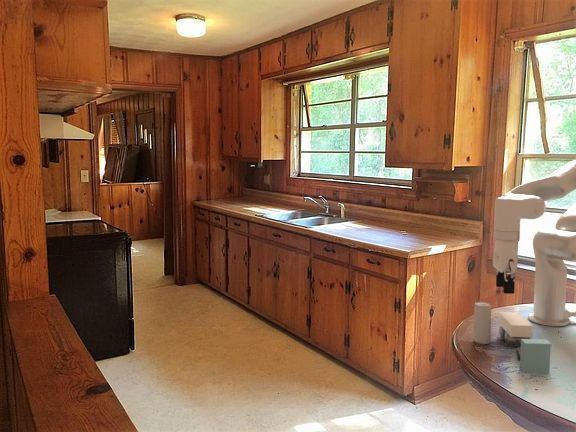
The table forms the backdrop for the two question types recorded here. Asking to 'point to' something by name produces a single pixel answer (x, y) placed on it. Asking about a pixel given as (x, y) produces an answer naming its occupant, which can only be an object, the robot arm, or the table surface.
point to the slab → (515, 324)
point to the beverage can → (482, 322)
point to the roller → (518, 353)
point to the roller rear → (502, 332)
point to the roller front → (513, 340)
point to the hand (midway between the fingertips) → (504, 289)
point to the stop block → (535, 356)
